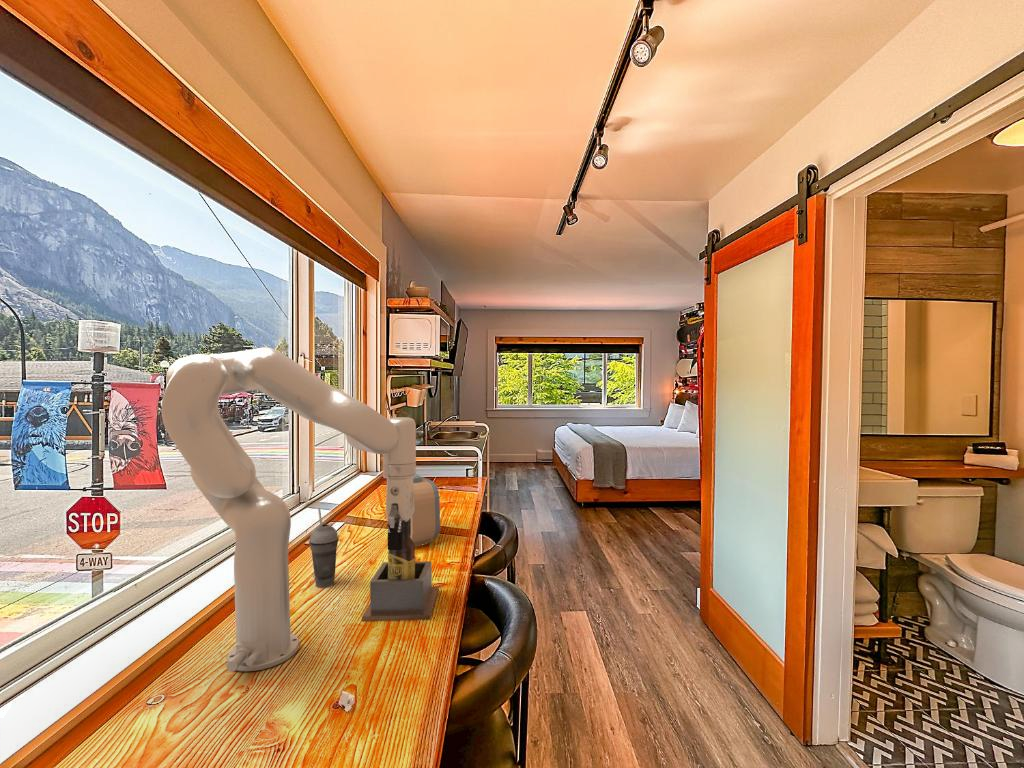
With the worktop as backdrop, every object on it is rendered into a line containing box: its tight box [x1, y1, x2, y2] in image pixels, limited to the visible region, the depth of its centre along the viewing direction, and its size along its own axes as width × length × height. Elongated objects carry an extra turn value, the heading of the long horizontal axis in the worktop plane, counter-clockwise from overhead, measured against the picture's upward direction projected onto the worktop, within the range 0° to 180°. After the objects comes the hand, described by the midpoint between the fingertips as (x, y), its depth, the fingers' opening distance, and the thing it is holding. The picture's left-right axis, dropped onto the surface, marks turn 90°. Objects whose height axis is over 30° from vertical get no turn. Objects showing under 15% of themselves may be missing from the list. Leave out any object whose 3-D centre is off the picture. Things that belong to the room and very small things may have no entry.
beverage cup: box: [308, 507, 339, 589], centre depth 131 cm, size 7×7×20 cm
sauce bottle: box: [387, 518, 416, 579], centre depth 118 cm, size 7×6×20 cm
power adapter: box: [338, 690, 356, 713], centre depth 82 cm, size 3×3×3 cm
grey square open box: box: [361, 560, 440, 622], centre depth 119 cm, size 15×15×8 cm
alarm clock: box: [410, 473, 441, 547], centre depth 166 cm, size 21×10×22 cm, turn 34°
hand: (399, 542), depth 118 cm, fingers open, 9 cm apart
